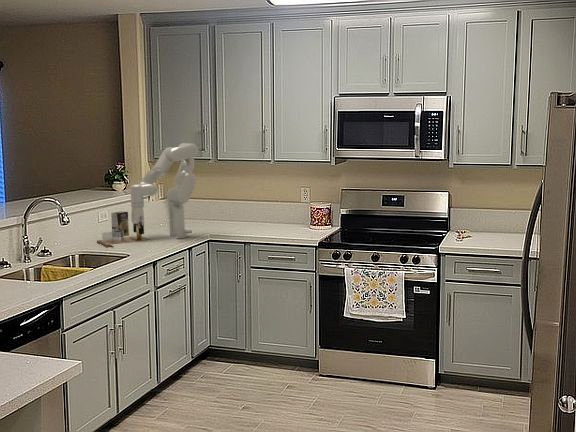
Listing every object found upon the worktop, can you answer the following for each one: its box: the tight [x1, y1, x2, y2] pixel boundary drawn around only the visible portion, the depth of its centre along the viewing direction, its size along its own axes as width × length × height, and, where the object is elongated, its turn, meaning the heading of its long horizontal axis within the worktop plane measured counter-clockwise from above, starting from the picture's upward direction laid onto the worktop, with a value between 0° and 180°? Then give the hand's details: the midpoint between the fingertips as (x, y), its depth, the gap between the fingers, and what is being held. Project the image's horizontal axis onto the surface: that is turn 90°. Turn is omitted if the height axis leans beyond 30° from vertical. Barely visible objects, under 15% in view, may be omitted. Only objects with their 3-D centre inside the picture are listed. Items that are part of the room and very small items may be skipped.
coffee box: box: [111, 211, 130, 237], centre depth 464 cm, size 9×6×16 cm
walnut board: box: [96, 235, 152, 248], centre depth 445 cm, size 28×19×2 cm
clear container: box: [101, 228, 125, 243], centre depth 443 cm, size 13×13×6 cm
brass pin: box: [135, 224, 143, 240], centre depth 445 cm, size 3×3×10 cm
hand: (138, 233), depth 445 cm, fingers open, 8 cm apart
